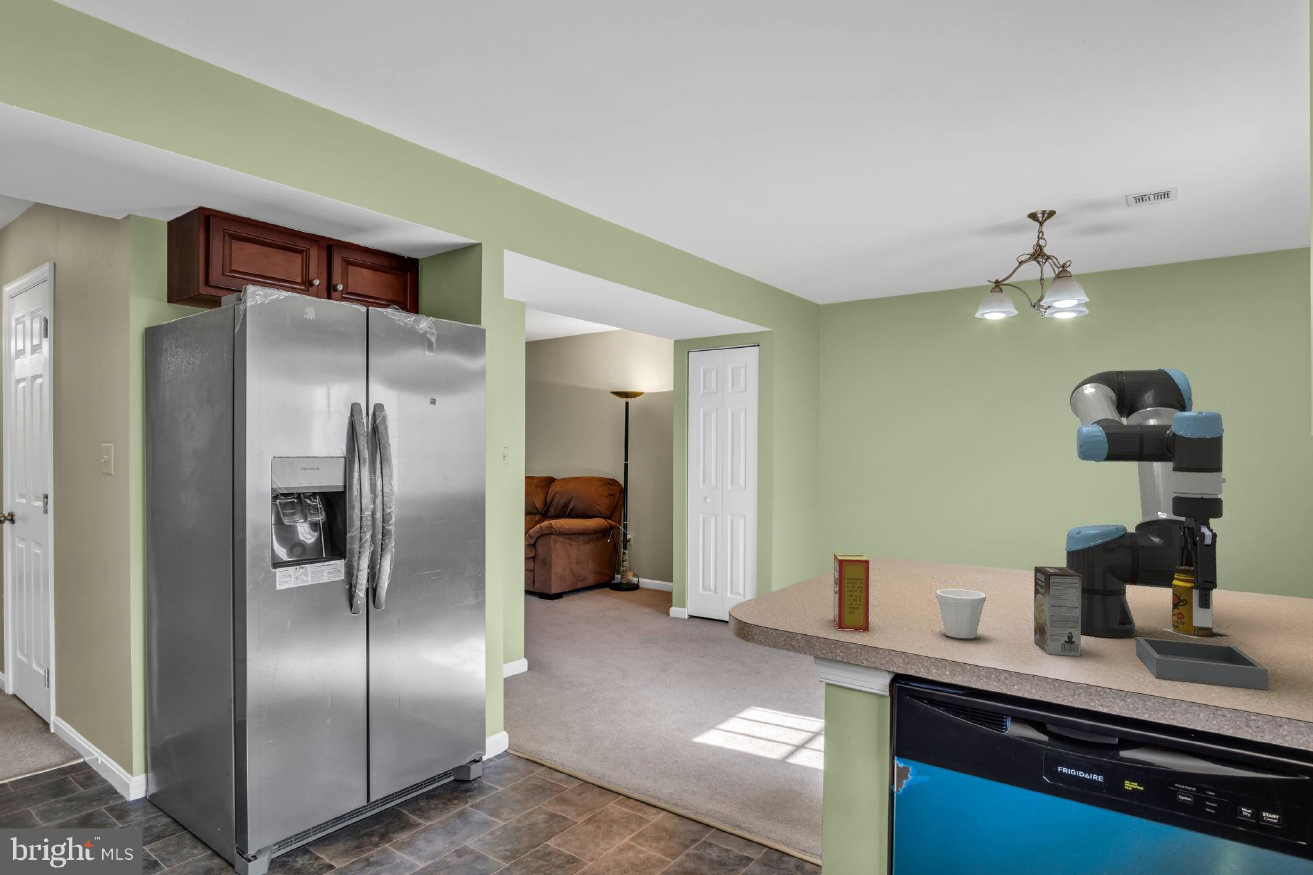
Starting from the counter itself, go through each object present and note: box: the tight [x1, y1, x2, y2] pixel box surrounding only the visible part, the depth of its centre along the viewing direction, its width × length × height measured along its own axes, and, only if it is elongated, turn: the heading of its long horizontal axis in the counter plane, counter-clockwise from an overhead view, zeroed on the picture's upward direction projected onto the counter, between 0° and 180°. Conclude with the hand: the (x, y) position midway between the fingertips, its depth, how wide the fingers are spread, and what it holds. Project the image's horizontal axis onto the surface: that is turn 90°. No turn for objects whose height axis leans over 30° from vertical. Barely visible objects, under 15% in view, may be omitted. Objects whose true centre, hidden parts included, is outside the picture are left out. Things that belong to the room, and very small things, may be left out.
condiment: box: [1160, 566, 1233, 639], centre depth 136 cm, size 7×8×12 cm
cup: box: [935, 588, 987, 641], centre depth 159 cm, size 10×10×9 cm
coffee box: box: [1033, 566, 1082, 657], centre depth 150 cm, size 9×6×16 cm
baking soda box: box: [833, 552, 870, 632], centre depth 168 cm, size 10×6×16 cm
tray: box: [1135, 636, 1269, 691], centre depth 136 cm, size 16×16×4 cm
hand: (1196, 621), depth 136 cm, fingers closed on condiment, 6 cm apart
